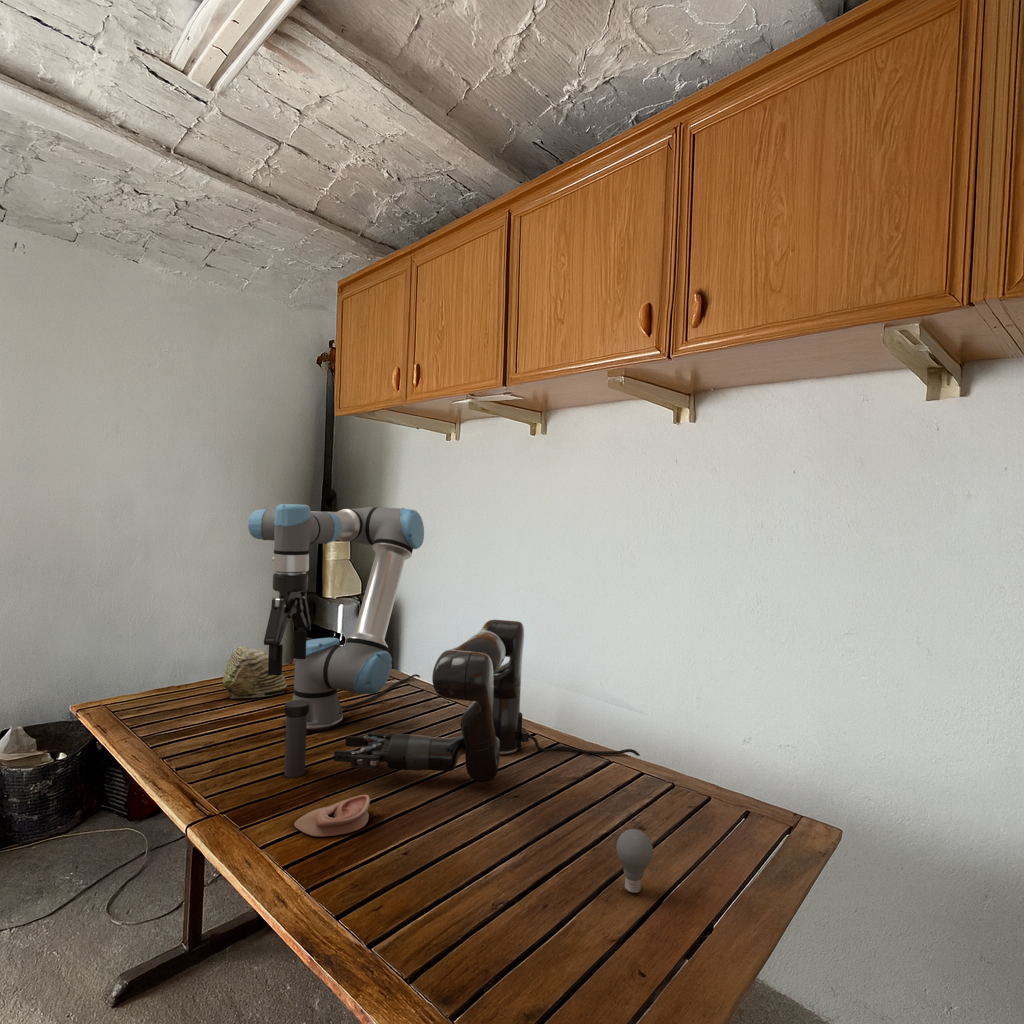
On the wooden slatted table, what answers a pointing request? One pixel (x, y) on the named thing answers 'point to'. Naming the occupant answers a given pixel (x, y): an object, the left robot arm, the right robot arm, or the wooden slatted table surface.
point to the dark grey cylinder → (295, 746)
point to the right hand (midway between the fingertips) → (340, 748)
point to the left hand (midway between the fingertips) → (287, 666)
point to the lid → (296, 708)
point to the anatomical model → (336, 818)
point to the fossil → (251, 675)
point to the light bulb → (634, 857)
